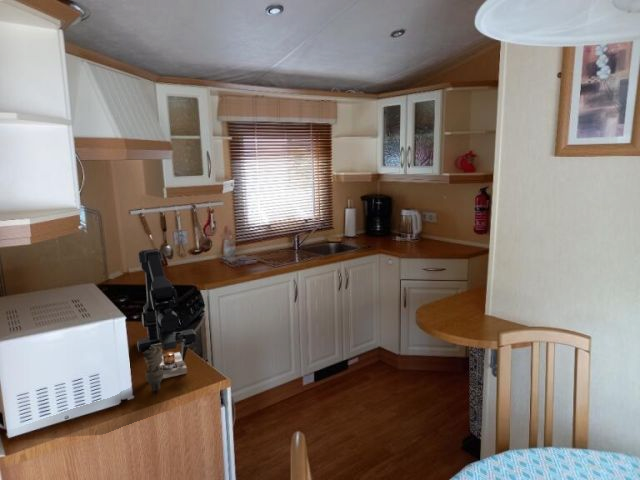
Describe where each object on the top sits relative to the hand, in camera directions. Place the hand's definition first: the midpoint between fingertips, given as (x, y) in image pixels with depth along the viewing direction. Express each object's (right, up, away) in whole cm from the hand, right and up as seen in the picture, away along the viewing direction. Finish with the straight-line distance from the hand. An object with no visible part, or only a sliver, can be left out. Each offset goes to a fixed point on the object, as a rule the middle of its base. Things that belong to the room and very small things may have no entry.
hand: (169, 363), depth 156 cm
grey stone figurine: (0, -6, -12) cm, 13 cm away
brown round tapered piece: (0, -3, +1) cm, 3 cm away
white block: (-1, -2, +3) cm, 4 cm away
